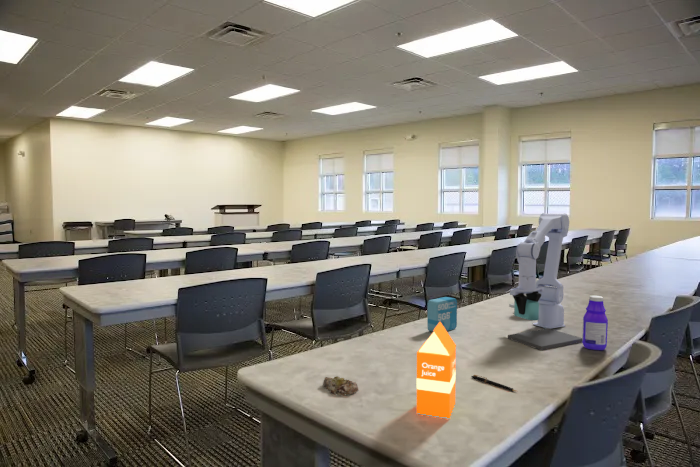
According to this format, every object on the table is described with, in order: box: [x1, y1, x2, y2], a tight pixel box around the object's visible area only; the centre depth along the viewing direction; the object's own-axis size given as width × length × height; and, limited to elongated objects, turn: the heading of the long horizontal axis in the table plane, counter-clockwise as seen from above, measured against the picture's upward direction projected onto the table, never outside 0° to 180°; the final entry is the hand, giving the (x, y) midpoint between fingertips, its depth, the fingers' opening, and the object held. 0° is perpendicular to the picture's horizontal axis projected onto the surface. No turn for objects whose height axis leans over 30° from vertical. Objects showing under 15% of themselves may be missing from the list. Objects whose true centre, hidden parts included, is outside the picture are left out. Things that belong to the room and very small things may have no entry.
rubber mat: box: [507, 328, 582, 351], centre depth 165 cm, size 20×15×1 cm
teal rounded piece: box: [508, 298, 539, 321], centre depth 170 cm, size 4×12×6 cm, turn 25°
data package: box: [426, 296, 458, 333], centre depth 178 cm, size 12×4×12 cm, turn 129°
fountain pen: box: [470, 374, 519, 392], centre depth 125 cm, size 14×1×2 cm, turn 41°
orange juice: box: [416, 322, 457, 419], centre depth 110 cm, size 8×9×20 cm
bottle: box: [581, 294, 609, 351], centre depth 155 cm, size 7×6×17 cm
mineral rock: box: [322, 376, 359, 396], centre depth 123 cm, size 11×4×8 cm
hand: (526, 313), depth 169 cm, fingers closed on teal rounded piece, 4 cm apart
